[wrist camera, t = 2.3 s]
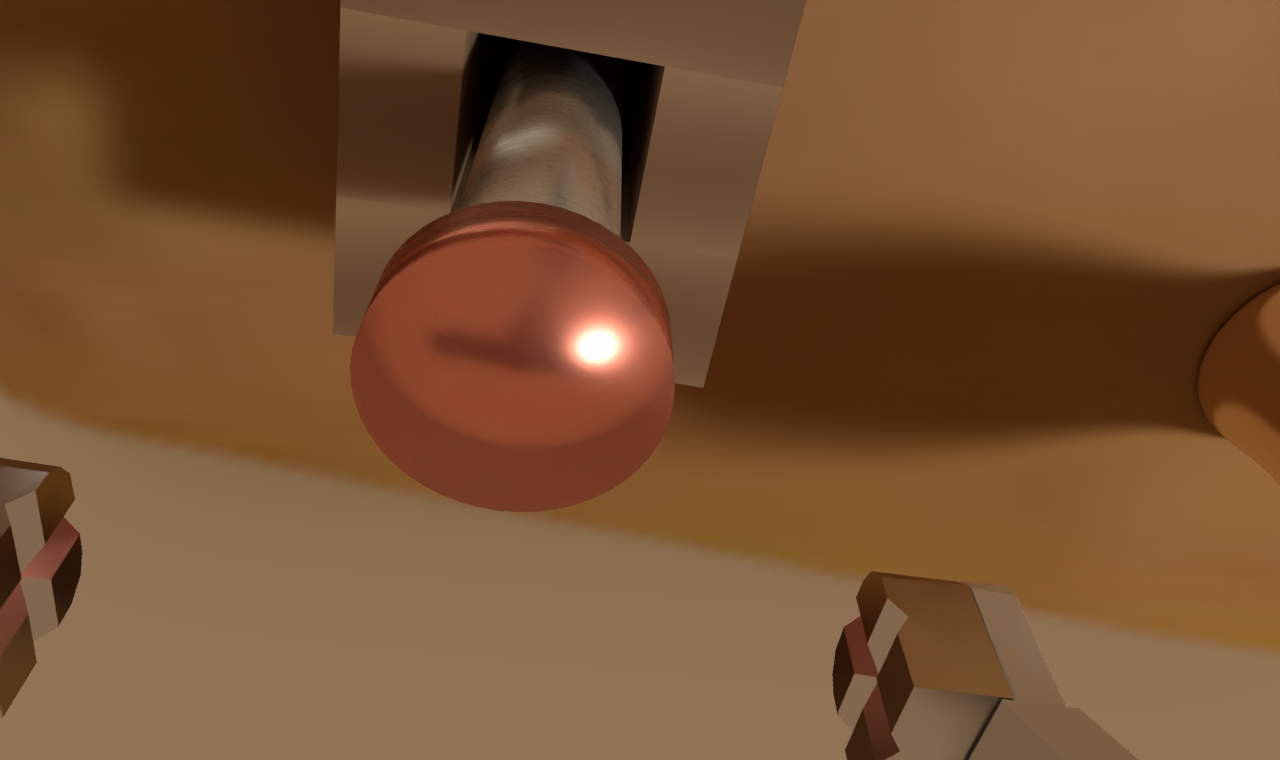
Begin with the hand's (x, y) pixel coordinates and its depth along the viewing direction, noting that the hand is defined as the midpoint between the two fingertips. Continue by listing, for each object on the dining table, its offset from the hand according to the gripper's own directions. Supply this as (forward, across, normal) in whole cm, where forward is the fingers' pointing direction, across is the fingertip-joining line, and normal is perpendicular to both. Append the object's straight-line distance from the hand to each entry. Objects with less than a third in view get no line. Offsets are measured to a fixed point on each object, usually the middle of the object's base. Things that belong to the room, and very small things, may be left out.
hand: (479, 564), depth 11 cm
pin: (+17, 0, -1) cm, 17 cm away
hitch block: (+17, 0, -1) cm, 17 cm away
